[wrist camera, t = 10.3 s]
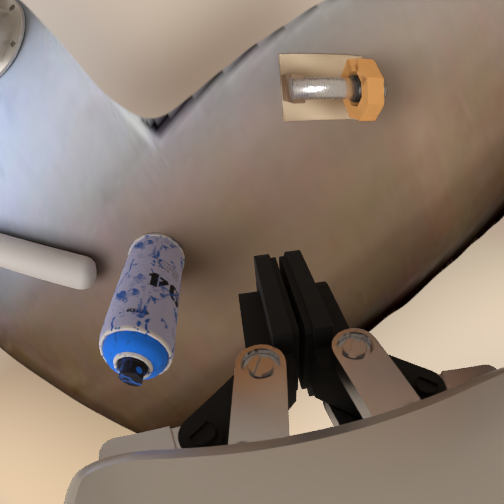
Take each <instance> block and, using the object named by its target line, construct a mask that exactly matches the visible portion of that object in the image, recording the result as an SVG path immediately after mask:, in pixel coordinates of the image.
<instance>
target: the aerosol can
mask: <svg viewBox="0 0 504 504" xmlns="http://www.w3.org/2000/svg"><path fill="white" fill-rule="evenodd" d="M184 263H185V256H184V253H183V250H182V248H181V247H180V245H179V244H178V243H177V242H176V241H175V240H173V239H172V238H171V237H169V236H166V235H164V234H159V233H150V234H145V235H142V236H141V237H139V238H137V239H136V240H135V241H134V242H133V244H132V245H131V247H130V250H129V253H128V258H127V261H126V263H125V266H124V268H123V271H122V274H121V276H120V279H119V282H118V284H117V287H116V290H115V292H114V295H113V298H112V301H111V304H110V307H109V309H108V312H107V315H106V318H105V321H104V324H103V327H102V331H101V334H100V338H99V348H100V352H101V355H102V357H103V358H104V360H105V361H106V362H107V363H108V365H109V366H110V368H112V369H113V370H114V371H115V372H116V373H118V374H119V378H120V380H122V381H123V382H124V383H126V384H128V385H131V386H140V385H141V384H142V382H143V380H146V379H151V378H154V377H156V376H157V375H159V374H162V373H163V372H164V371H166V370H167V369H168V368H169V366H170V364H171V362H172V359H173V357H174V349H175V337H176V326H177V315H178V305H179V295H180V286H181V277H182V270H183V268H184Z"/></svg>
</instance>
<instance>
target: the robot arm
mask: <svg viewBox="0 0 504 504" xmlns="http://www.w3.org/2000/svg"><path fill="white" fill-rule="evenodd" d="M24 31H25V14H24V11H23V8H22V6H21V5H20V3H19V2H18V1H16V0H0V76H1V75H2V74H3V73H4V72H5V71H6V70H7V69H8V68H9V66H10V65H11V64H12V62H13V60H14V59H15V57H16V55H17V53H18V51H19V49H20V46H21V43H22V40H23V36H24ZM254 264H255V274H256V285H257V292H251V293H243V294H238V295H239V302H240V310H241V317H242V325H243V332H244V339H245V346H246V349H245V350H243V351H242V352H241V353H240V354H239V356H238V357H237V359H236V363H235V371H234V375H233V376H232V377H231V378H230V379H229V380H228V381H227V382H226V383H225V384H224V385H223V386H222V387H221V388H220V389H219V390H218V391H217V392H216V393H215V394H214V395H213V396H211V397H210V398H209V399H208V400H207V401H206V402H205V403H204V404H203V405H202V406H201V407H200V408H199V409H198V410H196V411H195V412H194V413H193V414H192V415H191V416H190V417H189V418H188V419H187V420H185V422H184V423H183V424H182V425H181V426H180V427H176V428H172V429H171V428H170V427H169V426H168V427H164V428H160V429H156V430H151V431H147V432H142V433H138V434H133V435H128V436H123V437H117V438H113V439H111V440H108V441H107V442H106V443H104V444H103V445H102V447H101V449H100V452H99V460H98V461H96V462H93V463H91V464H89V465H88V466H85V467H84V468H83V469H81V470H79V471H78V472H77V473H76V475H75V476H74V477H73V479H72V481H71V483H70V485H69V488H68V490H67V494H66V497H65V502H64V504H504V368H500V369H496V368H494V367H493V366H490V365H479V366H474V367H468V368H461V369H455V370H448V371H442V372H441V374H439V375H438V374H437V373H435V372H433V371H431V370H428V369H425V368H422V367H420V366H417V365H414V364H411V363H409V362H406V361H404V360H401V359H398V358H396V357H393V356H391V355H388V354H387V353H386V351H385V350H384V349H383V347H382V346H381V345H380V344H379V342H378V341H377V339H376V338H375V337H374V336H373V335H372V334H371V333H369V332H367V331H365V330H362V329H356V328H349V326H348V324H347V322H346V320H345V318H344V316H343V314H342V312H341V310H340V308H339V306H338V304H337V302H336V300H335V298H334V296H333V294H332V292H331V290H330V288H329V286H328V284H327V283H326V282H325V281H324V282H318V283H315V282H314V280H313V277H312V275H311V273H310V271H309V269H308V267H307V264H306V262H305V260H304V258H303V256H302V254H301V252H300V250H296V251H289V252H285V253H284V256H281V257H279V267H280V270H279V267H278V264H277V261H276V258H275V257H274V258H270V256H269V254H267V255H259V256H254ZM298 378H299V381H300V385H301V388H302V389H305V388H307V390H308V394H309V396H315V397H316V398H318V399H320V400H322V401H323V404H324V408H325V410H326V412H327V414H328V416H329V418H330V419H331V422H332V423H333V425H334V427H330V428H326V429H322V430H317V431H312V432H308V433H303V434H298V435H293V436H289V418H288V417H289V415H288V410H289V409H290V408H291V406H292V405H293V404H294V403H295V401H296V390H298Z"/></svg>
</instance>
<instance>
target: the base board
mask: <svg viewBox="0 0 504 504" xmlns="http://www.w3.org/2000/svg"><path fill="white" fill-rule="evenodd" d="M357 58H361V59H362V56H350V55H331V54H279V66H280V79H281V92H282V106H283V121H299V120H323V119H354V118H351V117H349V115H348V112H347V109H346V107H345V104H344V102H343V99H325V100H305V99H297V100H291V98H290V94H289V79H290V77H291V78H304V77H341V75H342V73H343V70H344V67H345V64H346V61H347V59H357Z"/></svg>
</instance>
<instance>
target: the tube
mask: <svg viewBox="0 0 504 504" xmlns="http://www.w3.org/2000/svg"><path fill="white" fill-rule="evenodd" d="M0 267H3V268H6V269H9V270H12V271H16V272H19V273H22V274H26V275H29V276H32V277H36V278H39V279H42V280H46V281H49V282H53V283H57V284H60V285H64V286H68V287H71V288H75V289H79V290H83V289H88V288H92V286H93V284H94V281H95V279H96V276H97V271H96V264H95V262H94V261H93V260H92V259H91V258H90V257H88V256H84V255H80V254H76V253H72V252H68V251H64V250H60V249H56V248H52V247H49V246H45V245H41V244H37V243H34V242H30V241H26V240H23V239H19V238H16V237H12V236H8V235H5V234H1V233H0Z"/></svg>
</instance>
